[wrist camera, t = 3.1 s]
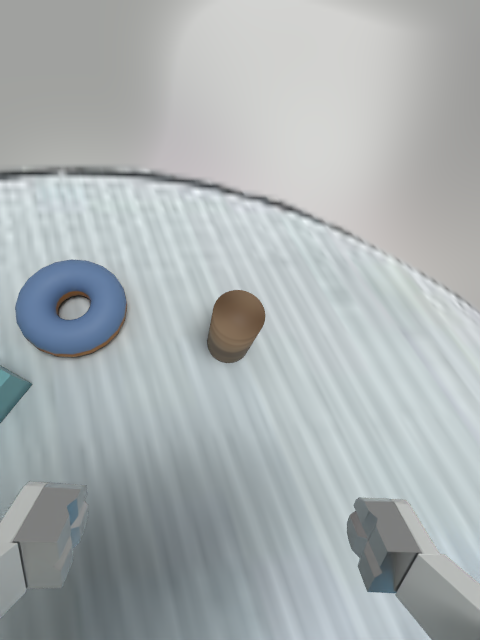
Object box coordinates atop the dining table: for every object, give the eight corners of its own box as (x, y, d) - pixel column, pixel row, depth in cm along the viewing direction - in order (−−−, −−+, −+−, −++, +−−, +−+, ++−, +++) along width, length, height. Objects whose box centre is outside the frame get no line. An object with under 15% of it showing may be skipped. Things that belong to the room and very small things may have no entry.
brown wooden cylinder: (236, 370, 33) (250, 348, 26) (199, 349, 34) (202, 322, 26) (255, 335, 35) (273, 305, 28) (220, 316, 35) (228, 281, 28)
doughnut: (144, 284, 35) (133, 262, 31) (112, 371, 32) (94, 361, 27) (58, 265, 35) (35, 241, 31) (17, 349, 32) (-15, 336, 28)
